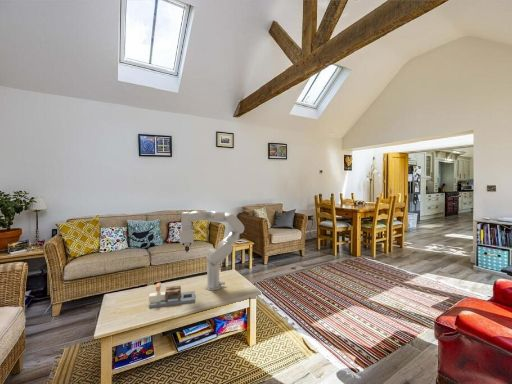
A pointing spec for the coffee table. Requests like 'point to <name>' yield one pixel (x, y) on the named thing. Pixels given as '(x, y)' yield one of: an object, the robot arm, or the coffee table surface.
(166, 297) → the tunnel
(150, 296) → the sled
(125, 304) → the coffee table surface
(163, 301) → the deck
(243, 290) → the coffee table surface
